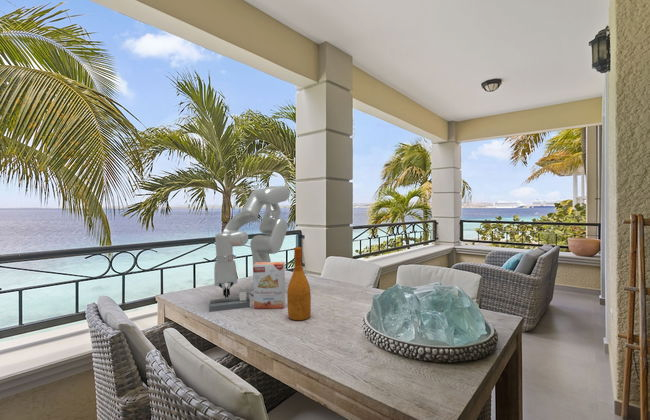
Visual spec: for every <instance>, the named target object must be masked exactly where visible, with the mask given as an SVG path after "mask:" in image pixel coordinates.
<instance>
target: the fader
mask: <svg viewBox="0 0 650 420" xmlns="http://www.w3.org/2000/svg"><path fill="white" fill-rule="evenodd" d="M238 290H239V292H238V293H239V295H238V297H239V298H240V301H244V300H246V293H247V288H246V287H245V288H244V287H243V288H239V289H238Z"/></svg>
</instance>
